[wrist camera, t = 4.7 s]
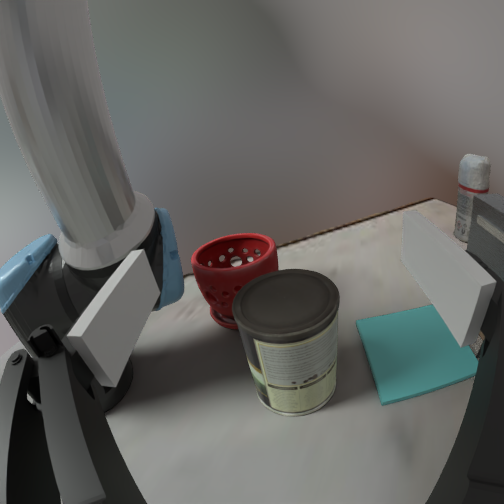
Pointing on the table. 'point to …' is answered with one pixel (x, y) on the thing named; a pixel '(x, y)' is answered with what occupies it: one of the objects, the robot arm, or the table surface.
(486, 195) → the mounted unit
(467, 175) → the spray can
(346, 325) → the table surface
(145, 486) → the table surface
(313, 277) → the coffee can
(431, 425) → the table surface
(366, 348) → the pad
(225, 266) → the plant pot
